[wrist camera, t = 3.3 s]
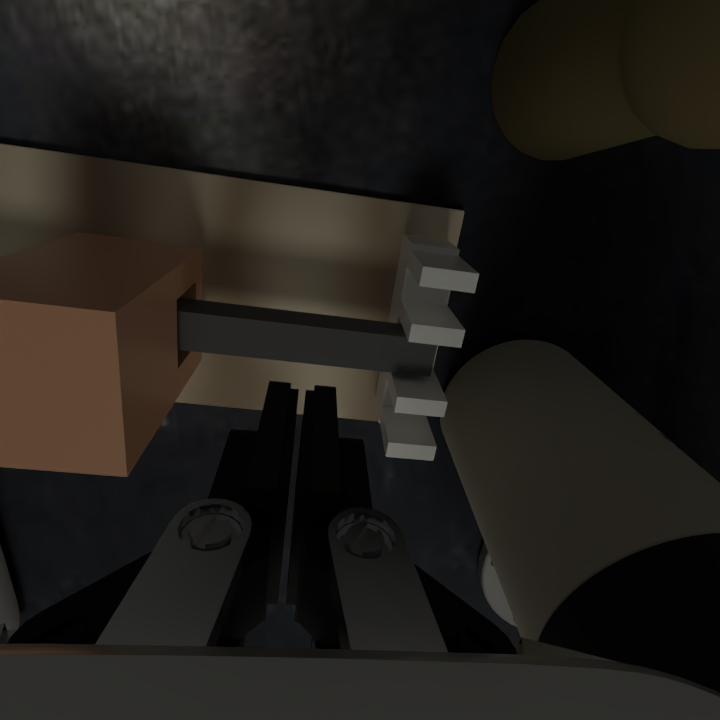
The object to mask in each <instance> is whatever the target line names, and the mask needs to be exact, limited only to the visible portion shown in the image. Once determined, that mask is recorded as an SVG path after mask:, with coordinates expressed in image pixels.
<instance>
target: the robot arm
mask: <svg viewBox="0 0 720 720" xmlns="http://www.w3.org/2000/svg"><path fill="white" fill-rule="evenodd" d="M298 394H299V389H292V388H291V383H288V382H277V381H269V384H268V389H267V393H266V397H265V402H264V406H263V411H262V415H261V419H260V424H259V428H258V431H249V430H236V429H231V430H230V433H229V436H228V439H227V442H226V445H225V448H224V451H223V454H222V457H221V460H220V464H219V467H218V470H217V473H216V476H215V479H214V482H213V485H212V488H211V491H210V494H209V498H208V499H206V500H200V501H198V502H195V503H192V504H190V505H188V506H186V507H185V508H183V509H182V510H180V511H179V512H178V513H177V515H176V516H175V517H174V518H173V519H172V521H171V522H170V524H169V525H168V527H167V529H166V530H165V532H164V534H163V535H162V537H161V538H160V540H159V542H158V543H157V545H156V546H155V548H154V550H153V551H151V552H150V553H148V554H146V555H144V556H142V557H140V558H139V559H137V560H135V561H133V562H131V563H129V564H128V565H126V566H124V567H122V568H120V569H118V570H117V571H115V572H113V573H111V574H109V575H107V576H106V577H104V578H102V579H100V580H98V581H96V582H95V583H93V584H91V585H89V586H87V587H85V588H84V589H82V590H80V591H78V592H76V593H74V594H73V595H71V596H69V597H67V598H65V599H63V600H61V601H60V602H58V603H56V604H54V605H52V606H50V607H49V608H47V609H45V610H43V611H41V612H40V613H38V614H37V615H35V616H34V617H32V618H31V619H29V620H28V621H26V622H25V623H24V624H23V625H22V626H21V627H20V628H18V629H12V630H7V629H6V625H5V623H4V624H0V720H720V693H719V692H717V691H715V690H712V689H710V688H707V687H705V686H702V685H700V684H697V683H694V682H692V681H689V680H687V679H684V678H682V677H679V676H675V675H672V674H668V673H664V672H661V671H657V670H654V669H650V668H646V667H642V666H636V665H630V664H624V663H621V662H617V661H613V660H609V659H605V658H601V657H597V656H593V655H589V654H586V653H582V652H578V651H574V650H570V649H566V648H562V647H558V646H554V645H550V644H546V643H542V642H538V641H534V640H531V639H527V638H523V637H521V639H520V642H519V643H516V642H512V641H510V640H509V638H508V637H507V635H506V634H504V633H503V632H502V631H501V630H500V629H499V628H498V627H497V626H496V625H495V624H493V623H492V622H491V621H489V620H488V619H487V618H485V617H484V616H483V615H481V614H480V613H479V612H477V611H476V610H475V609H473V608H472V607H471V606H469V605H468V604H467V603H465V602H464V601H463V600H462V599H460V598H459V597H458V596H456V595H455V594H454V593H452V592H451V591H450V590H448V589H447V588H446V587H444V586H443V585H442V584H440V583H439V582H438V581H436V580H435V579H434V578H432V577H431V576H430V575H428V574H427V573H426V572H424V571H423V570H422V569H420V568H419V567H418V566H417V565H415V564H414V562H413V560H412V557H411V555H410V552H409V549H408V547H407V544H406V542H405V539H404V536H403V534H402V532H401V530H400V528H399V526H398V525H397V523H396V522H395V521H394V520H392V519H391V518H390V517H389V516H388V515H386V514H384V513H382V512H380V511H378V510H374V509H372V503H371V495H370V487H369V479H368V472H367V464H366V456H365V449H364V442H363V440H362V439H351V438H339V437H338V416H337V395H336V387H331V386H321V385H315V386H314V390H306V393H305V402H304V411H303V421H302V430H301V440H300V449H299V459H298V468H297V478H296V488H295V500H294V512H293V524H292V537H291V549H290V561H289V573H288V585H287V597H286V604H293V605H296V611H295V622H298V623H299V624H300V625H301V626H302V627H303V628H304V629H305V630H306V631H307V632H308V633H309V634H310V635H311V636H312V639H311V649H302V648H257V647H244V642H245V635H246V634H247V633H248V632H250V631H251V630H252V629H253V628H255V627H256V626H257V625H258V624H260V623H261V622H262V621H265V618H266V610H267V604H278V594H279V584H280V574H281V564H282V554H283V544H284V534H285V524H286V514H287V504H288V495H289V485H290V475H291V464H292V454H293V444H294V434H295V424H296V414H297V404H298ZM478 571H479V579H480V583H481V586H482V588H483V592H484V595H485V598H486V599H487V601H488V603H489V604H490V606H491V608H492V609H493V610H494V611H495V612H496V613H497V614H498V615H499V616H500V617H501V618H502V619H504V620H505V621H507V622H508V623H510V624H512V625H514V626H516V627H517V625H516V623H515V620H514V618H513V615H512V612H511V610H510V607H509V605H508V602H507V599H506V597H505V594H504V591H503V589H502V586H501V584H500V581H499V578H498V576H497V573H496V571H495V568H494V565H493V563H492V560H491V558H490V555H489V552H488V550H487V547H486V545H485V542H484V544H483V547H482V549H481V552H480V556H479V563H478Z"/></svg>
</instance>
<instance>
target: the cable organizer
mask: <svg viewBox="0 0 720 720" xmlns="http://www.w3.org/2000/svg"><path fill="white" fill-rule="evenodd" d="M4 623H5V625H6V629H7V630H12V629H18V627H19V606H18V602H17V599H16V596H15V592H14V589H13V585H12V582H11V578H10V575H9V572H8V568H7V565H6V561H5V558H4V555H3V551H2V548H1V544H0V624H4Z"/></svg>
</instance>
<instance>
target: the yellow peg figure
mask: <svg viewBox="0 0 720 720" xmlns="http://www.w3.org/2000/svg"><path fill="white" fill-rule="evenodd" d="M491 97H492V103H493V109H494V114H495V119H496V120H497V122H498V124H499V126H500V128H501V130H502V132H503V134H504V136H505V137H506V139H507V140H508V141H509V142H510V143H512V144H513V145H514V146H515V147H516V148H517V149H518V150H519V151H520V152H522V153H524V154H526V155H529V156H532V157H534V158H537V159H539V160H566V159H570V158H573V157H577V156H581V155H585V154H588V153H592V152H596V151H600V150H603V149H607V148H611V147H615V146H618V145H622V144H626V143H630V142H633V141H637V140H641V139H645V138H648V137H652V136H656V135H658V136H660V137H662V138H664V139H667V140H669V141H672V142H674V143H677V144H679V145H682V146H684V147H686V148H689V149H720V0H539V1H538V2H536V3H535V4H534V5H533V6H531V7H530V8H529V9H528V10H526V11H525V12H524V13H523V14H521V15H520V17H519V18H518V19H517V21H516V22H515V24H514V25H513V26H512V28H511V29H510V31H509V32H508V33H507V35H506V36H505V38H504V39H503V42H502V44H501V47H500V50H499V52H498V55H497V58H496V60H495V63H494V66H493V76H492V86H491Z"/></svg>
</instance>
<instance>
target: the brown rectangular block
mask: <svg viewBox="0 0 720 720" xmlns="http://www.w3.org/2000/svg"><path fill="white" fill-rule="evenodd" d="M178 298H187V299H196V300H202V248H198V247H191V246H183V245H175V244H167V243H160V242H152V241H144V240H136V239H129V238H121V237H113V236H105V235H98V234H90V233H82V232H76V233H73V234H70V235H67V236H64V237H61V238H58V239H54V240H51V241H48V242H45V243H42V244H39V245H36V246H32V247H29V248H26V249H23V250H20V251H17V252H14V253H10V254H7V255H4V256H1V257H0V467H7V468H20V469H32V470H45V471H58V472H70V473H83V474H96V475H109V476H121V477H128V475H129V473H130V472H131V470H132V469H133V467H134V466H135V464H136V462H137V461H138V459H139V458H140V456H141V455H142V453H143V451H144V450H145V448H146V447H147V445H148V444H149V442H150V440H151V439H152V437H153V436H154V434H155V433H156V431H157V429H158V428H159V426H160V425H161V423H162V422H163V420H164V418H165V417H166V415H167V414H168V412H169V411H170V409H171V407H172V406H173V404H174V403H175V401H176V399H177V398H178V396H179V395H180V393H181V392H182V390H183V388H184V387H185V385H186V384H187V382H188V381H189V379H190V377H191V376H192V374H193V373H194V371H195V370H196V368H197V366H198V365H199V363H200V362H201V360H202V352H194V351H184V350H177V299H178Z"/></svg>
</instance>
